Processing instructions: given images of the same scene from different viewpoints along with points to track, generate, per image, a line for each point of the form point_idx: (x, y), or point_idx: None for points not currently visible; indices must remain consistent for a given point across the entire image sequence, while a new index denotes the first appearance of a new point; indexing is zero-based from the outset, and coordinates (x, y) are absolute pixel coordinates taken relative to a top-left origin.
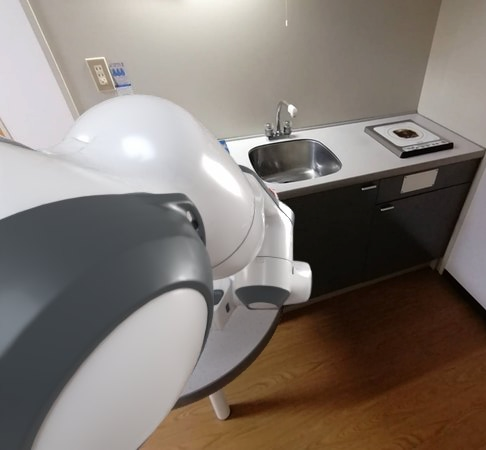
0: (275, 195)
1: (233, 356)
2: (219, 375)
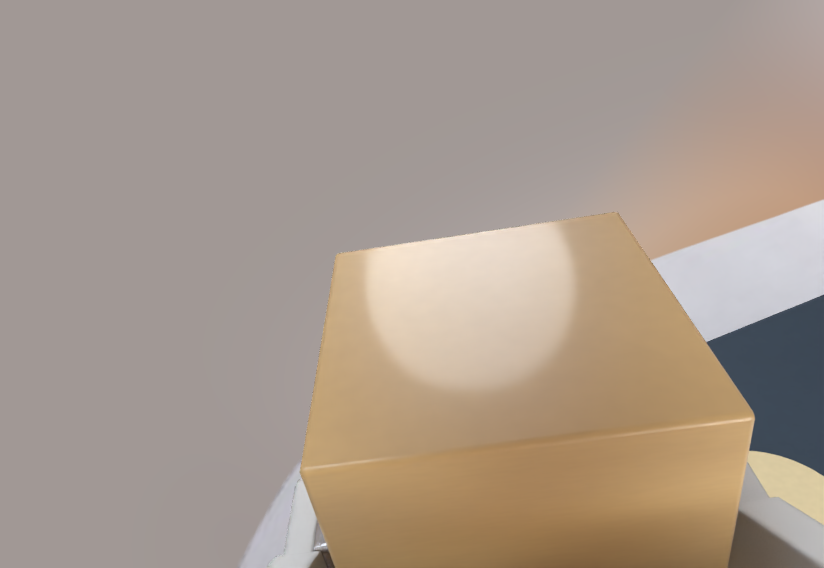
0: None
1: None
2: None
